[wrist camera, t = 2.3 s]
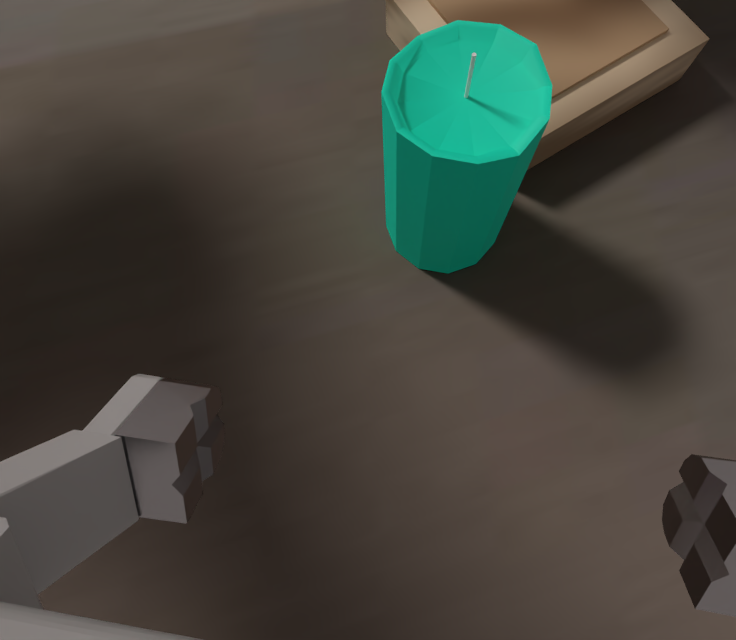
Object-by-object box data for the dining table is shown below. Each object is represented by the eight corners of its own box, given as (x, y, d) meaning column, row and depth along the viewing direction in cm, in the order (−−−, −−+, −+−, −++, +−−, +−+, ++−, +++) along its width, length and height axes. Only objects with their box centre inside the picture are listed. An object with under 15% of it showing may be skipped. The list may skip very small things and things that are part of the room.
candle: (390, 278, 28) (387, 144, 16) (382, 176, 29) (373, -12, 18) (505, 268, 28) (585, 127, 16) (491, 166, 29) (553, -29, 18)
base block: (386, 33, 32) (385, -14, 29) (550, -56, 33) (566, -111, 30) (504, 184, 29) (516, 149, 26) (679, 79, 30) (712, 34, 27)
